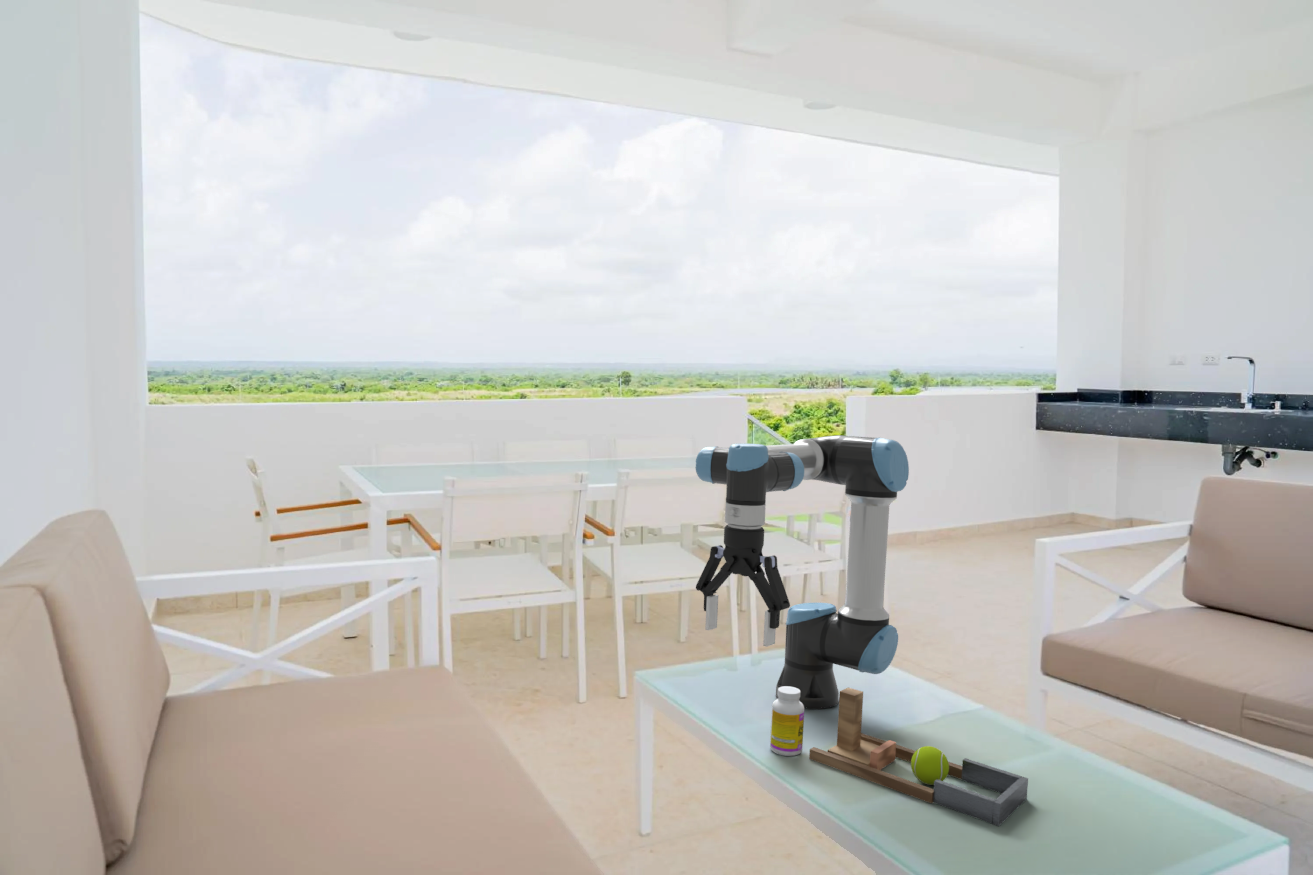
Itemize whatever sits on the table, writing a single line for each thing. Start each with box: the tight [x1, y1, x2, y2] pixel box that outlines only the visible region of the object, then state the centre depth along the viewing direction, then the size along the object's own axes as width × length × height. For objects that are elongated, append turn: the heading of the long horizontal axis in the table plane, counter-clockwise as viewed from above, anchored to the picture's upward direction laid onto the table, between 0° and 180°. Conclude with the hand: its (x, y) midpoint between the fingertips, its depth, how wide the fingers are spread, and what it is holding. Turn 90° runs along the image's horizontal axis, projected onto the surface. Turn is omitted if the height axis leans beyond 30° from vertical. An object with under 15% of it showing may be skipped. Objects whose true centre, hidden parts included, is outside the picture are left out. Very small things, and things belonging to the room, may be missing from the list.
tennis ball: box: [910, 745, 949, 786], centre depth 166 cm, size 7×7×7 cm
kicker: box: [827, 687, 897, 771], centre depth 176 cm, size 10×10×13 cm
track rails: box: [808, 732, 962, 804], centre depth 173 cm, size 16×26×2 cm, turn 48°
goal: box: [932, 758, 1029, 827], centre depth 160 cm, size 14×12×4 cm
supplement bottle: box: [769, 686, 805, 757], centre depth 179 cm, size 7×7×13 cm
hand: (739, 636), depth 163 cm, fingers open, 13 cm apart
